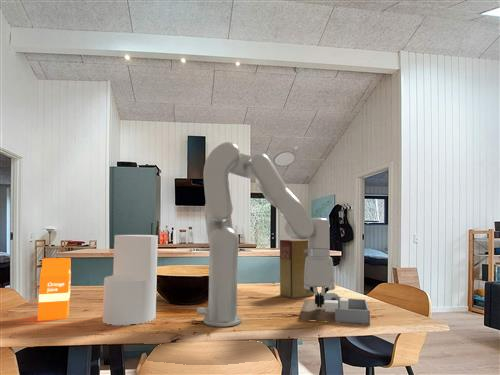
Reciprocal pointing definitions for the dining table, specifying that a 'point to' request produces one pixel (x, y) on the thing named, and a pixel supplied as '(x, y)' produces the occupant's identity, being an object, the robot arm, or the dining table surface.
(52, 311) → the orange juice
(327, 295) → the cleaver
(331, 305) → the white rectangular block
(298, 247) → the food packaging
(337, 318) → the tray
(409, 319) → the dining table surface
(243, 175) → the robot arm
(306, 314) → the board
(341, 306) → the tile
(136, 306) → the white stepped block
